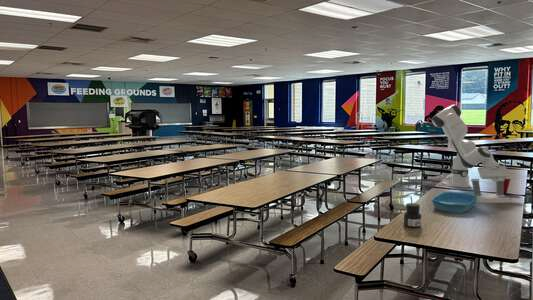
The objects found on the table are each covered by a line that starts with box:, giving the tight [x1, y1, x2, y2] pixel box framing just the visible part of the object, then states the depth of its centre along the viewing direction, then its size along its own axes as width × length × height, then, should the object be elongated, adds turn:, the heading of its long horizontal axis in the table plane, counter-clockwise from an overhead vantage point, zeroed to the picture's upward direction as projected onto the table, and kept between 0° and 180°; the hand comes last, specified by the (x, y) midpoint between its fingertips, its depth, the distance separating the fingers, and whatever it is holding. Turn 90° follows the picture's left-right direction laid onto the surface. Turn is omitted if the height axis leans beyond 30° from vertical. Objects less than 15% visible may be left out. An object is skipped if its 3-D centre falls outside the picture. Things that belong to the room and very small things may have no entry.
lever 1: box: [470, 178, 482, 196], centre depth 263 cm, size 2×4×12 cm, turn 92°
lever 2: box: [495, 178, 505, 196], centre depth 262 cm, size 2×4×12 cm, turn 91°
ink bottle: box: [403, 202, 422, 229], centre depth 206 cm, size 10×9×12 cm
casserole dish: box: [431, 191, 478, 214], centre depth 244 cm, size 37×22×7 cm, turn 138°
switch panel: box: [470, 193, 512, 204], centre depth 263 cm, size 14×22×3 cm, turn 92°
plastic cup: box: [495, 177, 512, 194], centre depth 286 cm, size 11×11×12 cm
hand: (498, 183), depth 264 cm, fingers closed, pressing on lever 2
